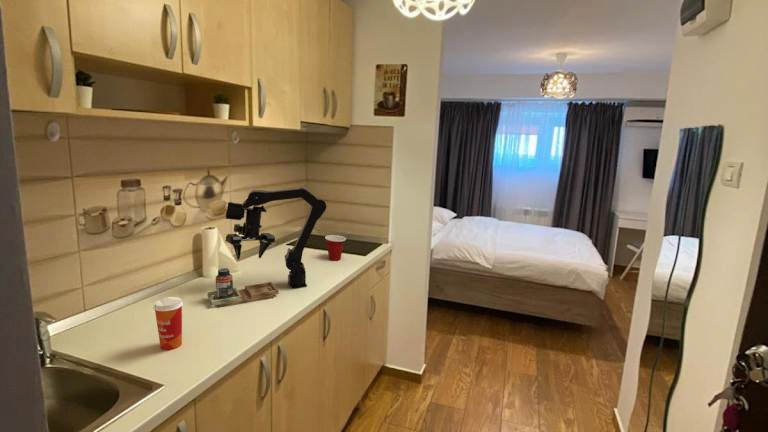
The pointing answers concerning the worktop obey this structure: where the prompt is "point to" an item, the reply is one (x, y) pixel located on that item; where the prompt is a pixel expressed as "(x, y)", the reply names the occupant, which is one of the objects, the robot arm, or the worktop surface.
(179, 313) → the paper cup
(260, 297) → the wooden tray
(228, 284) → the supplement bottle
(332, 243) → the plastic cup
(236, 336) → the worktop surface
